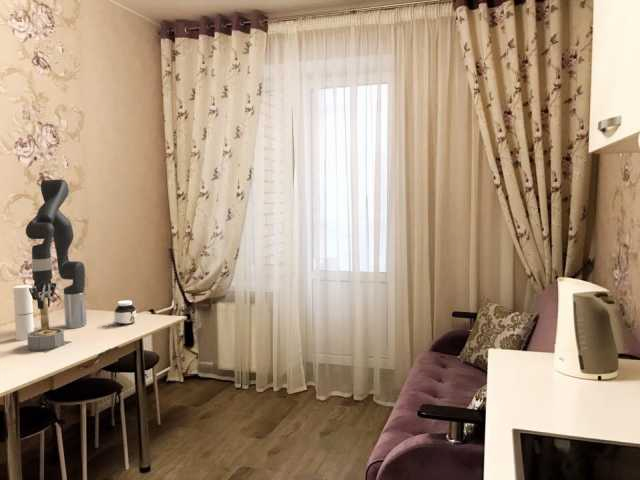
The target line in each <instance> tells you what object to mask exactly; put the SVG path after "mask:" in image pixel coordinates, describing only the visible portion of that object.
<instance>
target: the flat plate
mask: <svg viewBox="0 0 640 480" xmlns="http://www.w3.org/2000/svg"><path fill="white" fill-rule="evenodd" d="M70 343H73V341H67V340H64V343H63V345H62V346H60V347H58V348H61V347H63V346H66V345H69V344H70ZM58 348H54V349H50V350H42V351H33V350H29V349H28V346H26V347H24V348H20V349H18V351H21V352H33V353H49V352H51V351H53V350H56V349H58Z"/></svg>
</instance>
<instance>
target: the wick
mask: <svg viewBox="0 0 640 480" xmlns="http://www.w3.org/2000/svg"><path fill="white" fill-rule="evenodd" d="M43 302H44V309H39V311H40V314H39V315H40V328H41V330H49V328H50V322H49V321H50V320H49V307H48V298H47V297H44V296H43Z"/></svg>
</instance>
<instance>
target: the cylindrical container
mask: <svg viewBox="0 0 640 480" xmlns="http://www.w3.org/2000/svg"><path fill="white" fill-rule="evenodd" d="M32 287H33V286H32V285H30V284H25V285H24V284H23V285H15V286H13V303H14V307H13V308H14V321H15V322H14V323H15V338H16V341H23V342H24V341H27V333H29V332H32V331H35V330H34V329H35V327H34V307H33V298H32V296H31V293H30V291H29V288H32Z"/></svg>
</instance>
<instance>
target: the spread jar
mask: <svg viewBox="0 0 640 480" xmlns="http://www.w3.org/2000/svg"><path fill="white" fill-rule="evenodd" d="M136 319H137V309H136V307H135V306H134V305H133V301H132V300H120V301H118V302H117V306H116V307H115V309H114V321H115V323H116V324H117V325H119V326H120V327H121V326H123V327H124V326H125V325H126V326H131V325H133V324H134V323H135V322H136ZM126 326H125V327H126Z"/></svg>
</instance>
